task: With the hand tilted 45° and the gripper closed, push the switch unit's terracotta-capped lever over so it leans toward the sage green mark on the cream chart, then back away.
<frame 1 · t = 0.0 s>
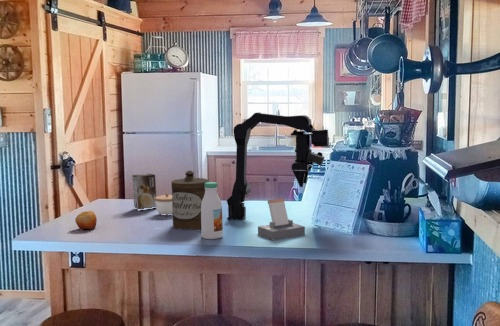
hand: (303, 185, 218), 15 cm above the countertop, tool pointing down, fingers open, 9 cm apart
coffee box: (145, 209, 249), on the countertop
milk bottle: (212, 237, 196), on the countertop
switch unit: (281, 234, 197), on the countertop
lidded jar: (167, 214, 237), on the countertop
fruit: (86, 229, 212), on the countertop
lever: (278, 212, 198), point 8 cm above the countertop, hinge at -20.0°
wooden container: (191, 226, 215), on the countertop
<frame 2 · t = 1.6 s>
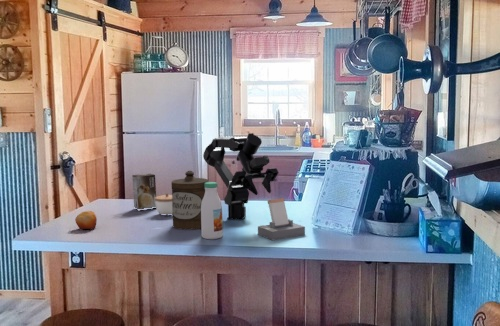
hand: (263, 193, 206), 14 cm above the countertop, tool tilted 45°, fingers open, 6 cm apart
nothing on the countertop moved.
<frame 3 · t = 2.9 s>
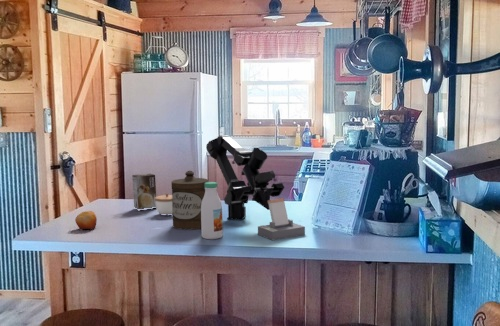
hand: (269, 209, 203), 8 cm above the countertop, tool tilted 45°, fingers closed
nothing on the countertop moved.
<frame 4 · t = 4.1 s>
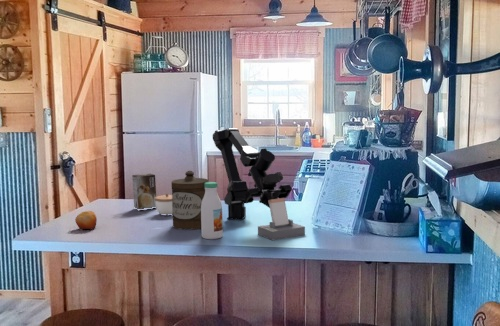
hand: (276, 211, 199), 8 cm above the countertop, tool tilted 45°, fingers closed, pressing on lever
lever: (278, 212, 198), point 8 cm above the countertop, hinge at -17.0°, touching gripper
everything else where it was.
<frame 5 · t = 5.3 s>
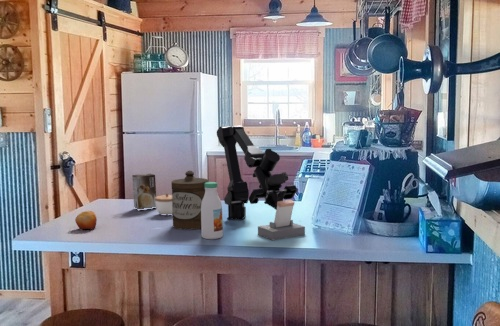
hand: (282, 212, 196), 8 cm above the countertop, tool tilted 45°, fingers closed, pressing on lever
lever: (283, 214, 195), point 8 cm above the countertop, hinge at 18.8°, touching gripper
everything else where it was.
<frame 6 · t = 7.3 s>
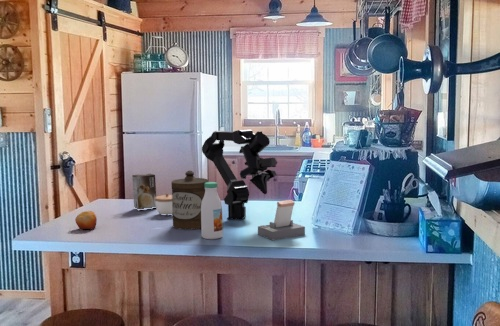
hand: (265, 193, 209), 13 cm above the countertop, tool tilted 30°, fingers closed
lever: (283, 214, 195), point 8 cm above the countertop, hinge at 19.0°
everything else where it was.
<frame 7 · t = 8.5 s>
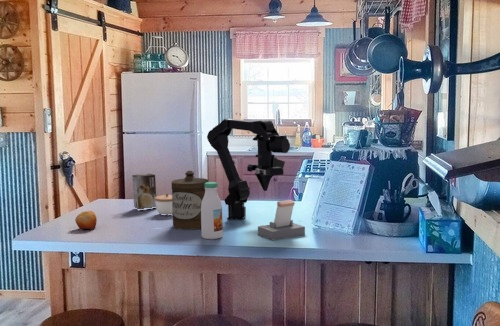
hand: (265, 190, 216), 13 cm above the countertop, tool pointing down, fingers closed
nothing on the countertop moved.
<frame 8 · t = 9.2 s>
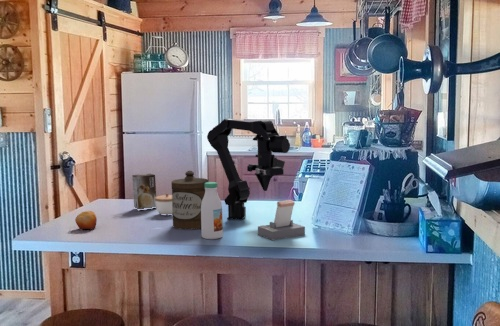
hand: (265, 190, 216), 13 cm above the countertop, tool pointing down, fingers closed
nothing on the countertop moved.
at the end: lever at +19° (first picture: -20°); milk bottle moved 0.2 cm from its start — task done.
